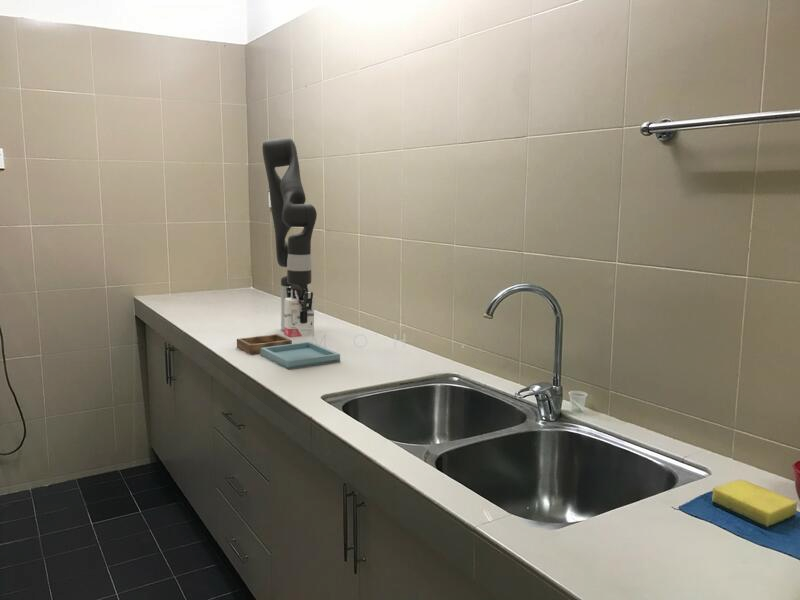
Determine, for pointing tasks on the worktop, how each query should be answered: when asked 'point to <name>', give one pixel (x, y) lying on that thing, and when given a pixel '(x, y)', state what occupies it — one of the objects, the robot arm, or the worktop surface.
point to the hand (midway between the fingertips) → (299, 321)
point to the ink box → (297, 319)
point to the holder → (261, 343)
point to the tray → (299, 355)
